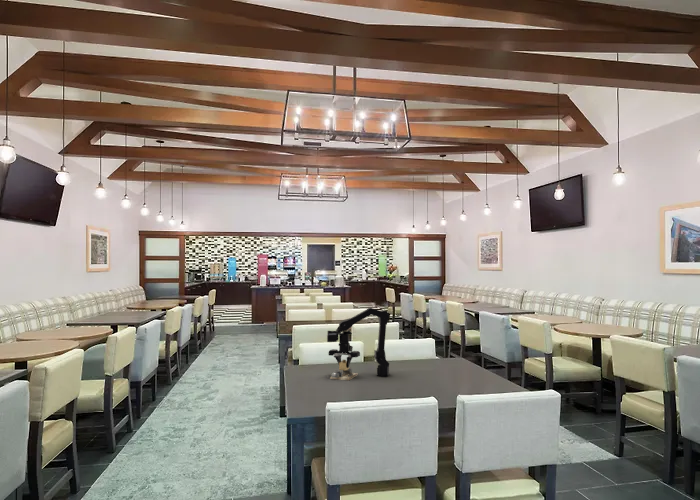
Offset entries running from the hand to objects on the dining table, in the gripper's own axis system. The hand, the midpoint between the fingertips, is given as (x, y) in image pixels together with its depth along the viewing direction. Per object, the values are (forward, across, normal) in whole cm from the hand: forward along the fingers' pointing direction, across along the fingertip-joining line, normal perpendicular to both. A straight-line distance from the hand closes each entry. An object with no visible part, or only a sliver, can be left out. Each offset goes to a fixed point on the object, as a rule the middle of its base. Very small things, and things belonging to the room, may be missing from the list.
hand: (344, 367), depth 259 cm
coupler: (+1, 0, 0) cm, 1 cm away
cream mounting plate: (+5, 0, 0) cm, 5 cm away
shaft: (+4, +3, +6) cm, 8 cm away
